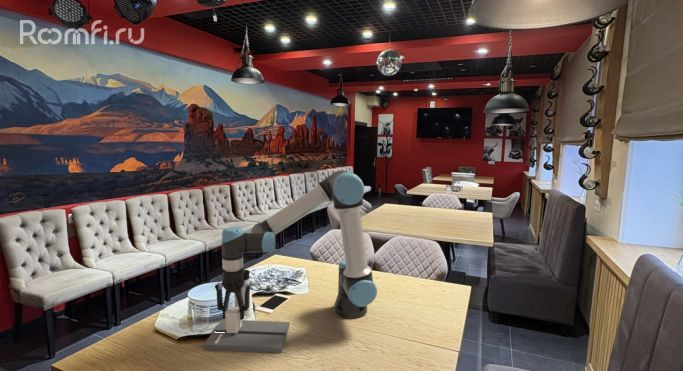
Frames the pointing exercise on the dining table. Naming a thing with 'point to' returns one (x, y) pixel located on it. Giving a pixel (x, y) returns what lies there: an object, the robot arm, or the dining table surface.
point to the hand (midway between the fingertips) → (233, 326)
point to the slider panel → (250, 337)
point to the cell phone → (273, 303)
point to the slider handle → (232, 320)
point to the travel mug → (246, 280)
